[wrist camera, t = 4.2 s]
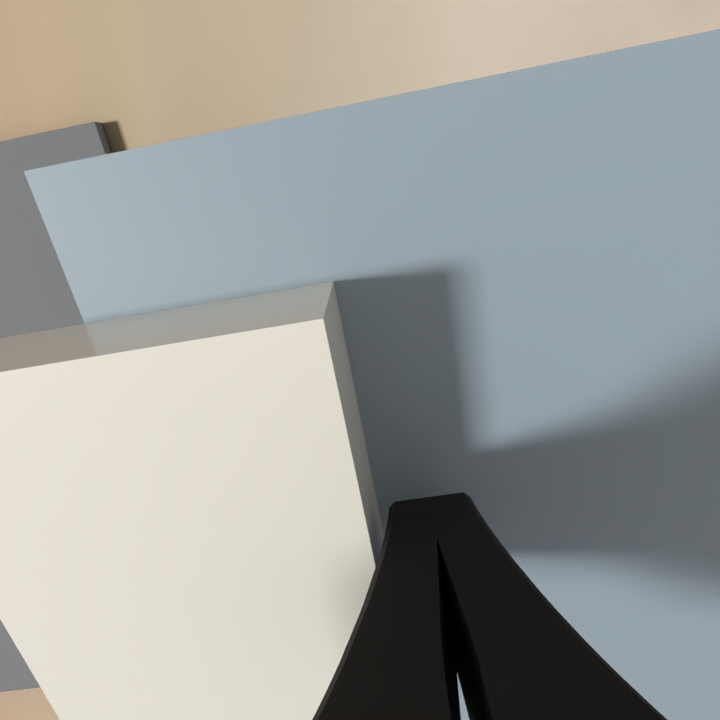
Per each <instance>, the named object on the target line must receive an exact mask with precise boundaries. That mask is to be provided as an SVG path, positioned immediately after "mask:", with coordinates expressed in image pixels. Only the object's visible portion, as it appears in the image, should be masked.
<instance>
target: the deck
mask: <svg viewBox="0 0 720 720" xmlns="http://www.w3.org/2000/svg"><path fill="white" fill-rule="evenodd" d="M24 173H25V176H26V178H27V181H28V183H29V186H30V188H31V191H32V193H33V196H34V198H35V201H36V203H37V206H38V208H39V211H40V213H41V216H42V218H43V221H44V223H45V226H46V228H47V231H48V233H49V236H50V238H51V241H52V243H53V246H54V248H55V251H56V253H57V256H58V258H59V261H60V263H61V266H62V268H63V271H64V273H65V276H66V278H67V281H68V283H69V286H70V288H71V291H72V293H73V296H74V298H75V301H76V303H77V306H78V308H79V311H80V313H81V316H82V318H83V321H84V323H85V324H87V323H93V322H99V321H105V320H110V319H116V318H122V317H128V316H134V315H140V314H145V313H151V312H157V311H163V310H169V309H175V308H180V307H186V306H192V305H198V304H204V303H210V302H216V301H221V300H227V299H233V298H239V297H245V296H251V295H256V294H262V293H268V292H274V291H280V290H286V289H291V288H297V287H303V286H309V285H315V284H321V283H327V282H332V281H334V286H335V291H336V296H337V301H338V306H339V311H340V317H341V322H342V327H343V332H344V337H345V342H346V347H347V352H348V357H349V362H350V367H351V372H352V377H353V382H354V387H355V393H356V398H357V403H358V408H359V413H360V418H361V423H362V428H363V433H364V438H365V443H366V448H367V453H368V458H369V463H370V469H371V474H372V479H373V484H374V489H375V494H376V499H377V504H378V509H379V514H380V519H381V524H382V529H383V534H384V536H385V531H386V527H387V521H388V515H389V508H390V507H391V505H392V504H393V503H394V502H395V501H402V500H410V499H417V498H424V497H432V496H439V495H447V494H454V493H461V492H464V493H465V494H467V495H468V496H469V497H471V499H472V501H473V503H474V504H475V506H476V508H477V509H478V511H479V513H480V514H481V516H482V517H483V519H484V520H485V522H486V523H487V525H488V526H489V527H490V529H491V530H492V532H493V533H494V534H495V536H496V537H497V538H498V540H499V541H500V542H501V544H502V545H503V546H504V548H505V549H506V550H507V552H508V553H509V554H510V555H511V557H512V558H513V559H514V560H515V562H516V563H517V564H518V565H519V567H520V568H521V569H522V570H523V571H524V572H525V574H526V575H527V576H528V577H529V578H530V580H531V581H532V582H533V583H534V584H535V586H536V587H537V588H538V589H539V590H540V592H541V593H542V594H543V595H544V596H545V597H546V598H547V600H548V601H549V602H550V603H551V604H552V605H553V606H554V607H555V609H556V610H557V611H558V612H559V613H560V614H561V615H562V616H563V617H564V618H565V619H566V620H567V621H568V623H569V624H570V625H571V626H572V627H573V628H574V629H575V630H576V631H577V632H578V633H579V634H580V635H581V636H582V637H583V639H584V640H585V641H586V642H587V643H588V644H589V645H590V646H591V647H592V648H593V649H594V650H595V651H596V652H597V653H598V654H599V655H600V656H601V657H602V658H603V659H604V660H605V661H606V662H607V663H608V664H609V665H610V666H611V667H612V668H613V669H614V670H615V671H616V672H617V673H618V674H619V675H620V676H621V677H622V678H623V679H624V680H625V681H627V682H628V683H629V684H630V685H631V686H632V687H633V688H634V689H635V690H636V691H637V692H638V693H639V694H640V695H641V696H642V697H643V698H645V699H646V700H647V701H648V702H649V703H650V704H651V705H652V706H653V707H654V708H655V709H656V710H657V711H658V712H660V713H661V714H662V715H663V716H664V717H665V718H666V719H667V720H720V29H718V30H713V31H709V32H704V33H699V34H694V35H689V36H684V37H679V38H674V39H669V40H664V41H659V42H655V43H650V44H645V45H640V46H635V47H630V48H625V49H620V50H615V51H610V52H606V53H601V54H596V55H591V56H586V57H581V58H576V59H571V60H566V61H561V62H557V63H552V64H547V65H542V66H537V67H532V68H527V69H522V70H517V71H512V72H507V73H503V74H498V75H493V76H488V77H483V78H478V79H473V80H468V81H463V82H458V83H454V84H449V85H444V86H439V87H434V88H429V89H424V90H419V91H414V92H409V93H405V94H400V95H395V96H390V97H385V98H380V99H375V100H370V101H365V102H360V103H356V104H351V105H346V106H341V107H336V108H331V109H326V110H321V111H316V112H311V113H306V114H302V115H297V116H292V117H287V118H282V119H277V120H272V121H267V122H262V123H257V124H253V125H248V126H243V127H238V128H233V129H228V130H223V131H218V132H213V133H208V134H204V135H199V136H194V137H189V138H184V139H179V140H174V141H169V142H164V143H159V144H154V145H150V146H145V147H140V148H135V149H130V150H125V151H120V152H115V153H110V154H105V155H101V156H96V157H91V158H86V159H81V160H76V161H71V162H66V163H61V164H56V165H52V166H47V167H42V168H37V169H32V170H27V171H24ZM457 680H458V691H459V702H460V714H461V720H469V716H468V712H467V708H466V705H465V701H464V697H463V693H462V689H461V685H460V681H459V678H458V674H457Z"/></svg>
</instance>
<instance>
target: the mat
mask: <svg viewBox="0 0 720 720" xmlns="http://www.w3.org/2000/svg"><path fill="white" fill-rule="evenodd" d="M110 153H111V150H110V147H109V144H108V141H107V138H106V135H105V132H104V129H103V126H102V123H98V122H92V123H87V124H82V125H78V126H73V127H68V128H63V129H59V130H54V131H49V132H44V133H40V134H35V135H30V136H25V137H20V138H16V139H11V140H6V141H1V142H0V338H5V337H11V336H17V335H23V334H29V333H34V332H40V331H46V330H52V329H58V328H64V327H69V326H75V325H81V324H85V323H84V321H83V318H82V316H81V313H80V311H79V308H78V306H77V303H76V301H75V298H74V296H73V293H72V291H71V288H70V286H69V283H68V281H67V278H66V276H65V273H64V271H63V268H62V266H61V263H60V261H59V258H58V256H57V253H56V251H55V248H54V246H53V243H52V241H51V238H50V236H49V233H48V231H47V228H46V226H45V223H44V221H43V218H42V216H41V213H40V211H39V208H38V206H37V203H36V201H35V198H34V196H33V193H32V191H31V188H30V186H29V183H28V181H27V178H26V176H25V173H24V171H27V170H32V169H37V168H42V167H47V166H52V165H56V164H61V163H66V162H71V161H76V160H81V159H86V158H91V157H96V156H101V155H105V154H110ZM38 687H40V685H39V684H38V682H37V680H36V679H35V677H34V675H33V674H32V672H31V670H30V669H29V667H28V665H27V664H26V662H25V660H24V658H23V657H22V655H21V653H20V652H19V650H18V648H17V647H16V645H15V643H14V642H13V640H12V638H11V637H10V635H9V633H8V632H7V630H6V628H5V626H4V625H3V623H2V621H1V620H0V692H4V691H12V690H21V689H29V688H38Z"/></svg>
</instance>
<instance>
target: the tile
mask: <svg viewBox="0 0 720 720" xmlns="http://www.w3.org/2000/svg"><path fill="white" fill-rule="evenodd" d="M383 540H384V534H383V529H382V524H381V519H380V514H379V509H378V504H377V499H376V494H375V489H374V484H373V479H372V474H371V469H370V463H369V458H368V453H367V448H366V443H365V438H364V433H363V428H362V423H361V418H360V413H359V408H358V403H357V398H356V393H355V387H354V382H353V377H352V372H351V367H350V362H349V357H348V352H347V347H346V342H345V337H344V332H343V327H342V322H341V317H340V311H339V306H338V301H337V296H336V291H335V286H334V281H332V282H327V283H321V284H315V285H309V286H303V287H297V288H291V289H286V290H280V291H274V292H268V293H262V294H256V295H251V296H245V297H239V298H233V299H227V300H221V301H216V302H210V303H204V304H198V305H192V306H186V307H180V308H175V309H169V310H163V311H157V312H151V313H145V314H140V315H134V316H128V317H122V318H116V319H110V320H105V321H99V322H93V323H87V324H81V325H75V326H69V327H64V328H58V329H52V330H46V331H40V332H34V333H29V334H23V335H17V336H11V337H5V338H0V620H1V621H2V623H3V625H4V626H5V628H6V630H7V632H8V633H9V635H10V637H11V638H12V640H13V642H14V643H15V645H16V647H17V648H18V650H19V652H20V653H21V655H22V657H23V658H24V660H25V662H26V664H27V665H28V667H29V669H30V670H31V672H32V674H33V675H34V677H35V679H36V680H37V682H38V684H39V685H40V687H41V689H42V690H43V692H44V694H45V696H46V697H47V699H48V701H49V702H50V704H51V706H52V707H53V709H54V711H55V712H56V714H57V716H58V717H59V719H60V720H312V719H313V717H314V715H315V713H316V711H317V709H318V707H319V705H320V703H321V701H322V699H323V697H324V695H325V693H326V691H327V689H328V687H329V684H330V682H331V680H332V678H333V676H334V674H335V671H336V669H337V667H338V665H339V663H340V660H341V658H342V655H343V653H344V651H345V648H346V646H347V643H348V641H349V638H350V636H351V633H352V631H353V629H354V626H355V624H356V621H357V619H358V616H359V614H360V611H361V609H362V606H363V603H364V600H365V598H366V595H367V592H368V589H369V586H370V583H371V580H372V577H373V574H374V571H375V568H376V565H377V562H378V558H379V554H380V551H381V547H382V544H383Z"/></svg>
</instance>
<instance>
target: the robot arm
mask: <svg viewBox="0 0 720 720" xmlns="http://www.w3.org/2000/svg"><path fill="white" fill-rule="evenodd" d="M457 674H458V678H459V681H460V685H461V689H462V693H463V697H464V701H465V705H466V708H467V712H468V716H469V720H667V719H666V718H665V717H664V716H663V715H662V714H661V713H660V712H658V711H657V710H656V709H655V708H654V707H653V706H652V705H651V704H650V703H649V702H648V701H647V700H646V699H645V698H643V697H642V696H641V695H640V694H639V693H638V692H637V691H636V690H635V689H634V688H633V687H632V686H631V685H630V684H629V683H628V682H627V681H625V680H624V679H623V678H622V677H621V676H620V675H619V674H618V673H617V672H616V671H615V670H614V669H613V668H612V667H611V666H610V665H609V664H608V663H607V662H606V661H605V660H604V659H603V658H602V657H601V656H600V655H599V654H598V653H597V652H596V651H595V650H594V649H593V648H592V647H591V646H590V645H589V644H588V643H587V642H586V641H585V640H584V639H583V637H582V636H581V635H580V634H579V633H578V632H577V631H576V630H575V629H574V628H573V627H572V626H571V625H570V624H569V623H568V621H567V620H566V619H565V618H564V617H563V616H562V615H561V614H560V613H559V612H558V611H557V610H556V609H555V607H554V606H553V605H552V604H551V603H550V602H549V601H548V600H547V598H546V597H545V596H544V595H543V594H542V593H541V592H540V590H539V589H538V588H537V587H536V586H535V584H534V583H533V582H532V581H531V580H530V578H529V577H528V576H527V575H526V574H525V572H524V571H523V570H522V569H521V568H520V567H519V565H518V564H517V563H516V562H515V560H514V559H513V558H512V557H511V555H510V554H509V553H508V552H507V550H506V549H505V548H504V546H503V545H502V544H501V542H500V541H499V540H498V538H497V537H496V536H495V534H494V533H493V532H492V530H491V529H490V527H489V526H488V525H487V523H486V522H485V520H484V519H483V517H482V516H481V514H480V513H479V511H478V509H477V508H476V506H475V504H474V503H473V501H472V499H471V497H469V496H468V495H467V494H465V493H464V492H461V493H454V494H447V495H439V496H432V497H424V498H417V499H410V500H402V501H395V502H394V503H393V504H392V505H391V507H390V508H389V515H388V521H387V527H386V531H385V536H384V540H383V544H382V547H381V551H380V554H379V558H378V562H377V565H376V568H375V571H374V574H373V577H372V580H371V583H370V586H369V589H368V592H367V595H366V598H365V600H364V603H363V606H362V609H361V611H360V614H359V616H358V619H357V621H356V624H355V626H354V629H353V631H352V633H351V636H350V638H349V641H348V643H347V646H346V648H345V651H344V653H343V655H342V658H341V660H340V663H339V665H338V667H337V669H336V671H335V674H334V676H333V678H332V680H331V682H330V684H329V687H328V689H327V691H326V693H325V695H324V697H323V699H322V701H321V703H320V705H319V707H318V709H317V711H316V713H315V715H314V717H313V719H312V720H461V714H460V702H459V691H458V680H457Z"/></svg>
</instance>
